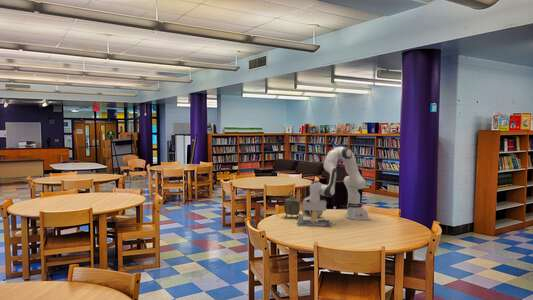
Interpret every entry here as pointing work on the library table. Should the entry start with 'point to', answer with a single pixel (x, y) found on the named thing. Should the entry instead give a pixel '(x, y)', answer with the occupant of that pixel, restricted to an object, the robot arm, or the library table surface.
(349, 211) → the robot arm
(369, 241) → the library table surface
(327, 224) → the gauge bed
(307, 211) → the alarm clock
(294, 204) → the tabletop clock
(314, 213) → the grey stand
